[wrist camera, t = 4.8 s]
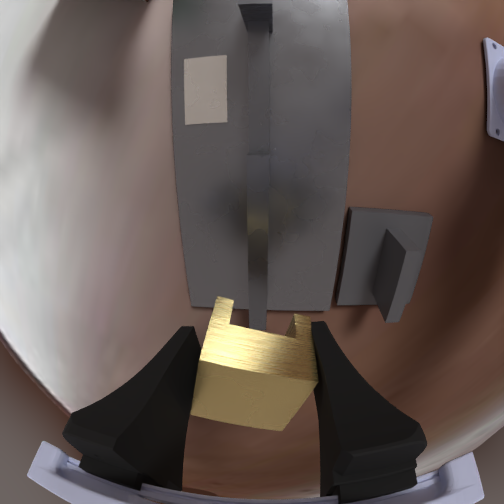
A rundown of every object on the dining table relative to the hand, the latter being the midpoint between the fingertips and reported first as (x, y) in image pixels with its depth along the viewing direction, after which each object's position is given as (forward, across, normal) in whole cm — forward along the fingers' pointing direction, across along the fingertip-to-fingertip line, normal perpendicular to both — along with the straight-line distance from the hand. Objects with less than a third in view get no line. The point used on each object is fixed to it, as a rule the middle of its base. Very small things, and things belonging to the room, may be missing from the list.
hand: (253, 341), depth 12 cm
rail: (+8, -1, -8) cm, 11 cm away
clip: (0, 0, 0) cm, 0 cm away
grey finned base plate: (+8, -8, 0) cm, 11 cm away
